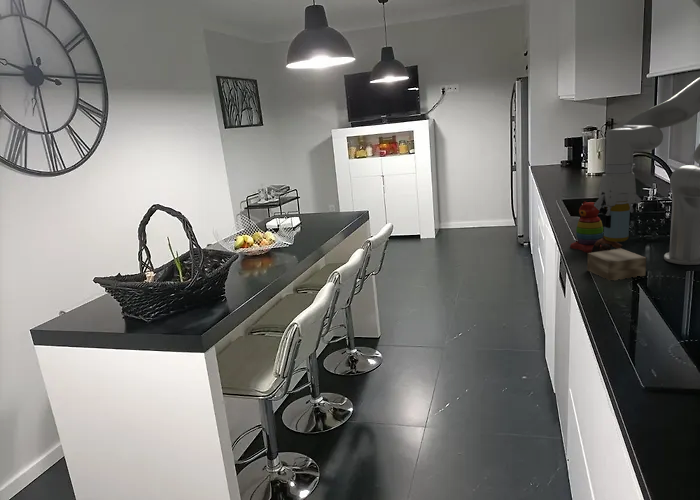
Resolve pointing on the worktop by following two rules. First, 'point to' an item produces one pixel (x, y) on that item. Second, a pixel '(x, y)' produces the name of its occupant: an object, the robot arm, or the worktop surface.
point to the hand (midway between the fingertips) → (616, 225)
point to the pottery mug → (605, 245)
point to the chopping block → (616, 264)
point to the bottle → (619, 220)
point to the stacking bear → (588, 228)
